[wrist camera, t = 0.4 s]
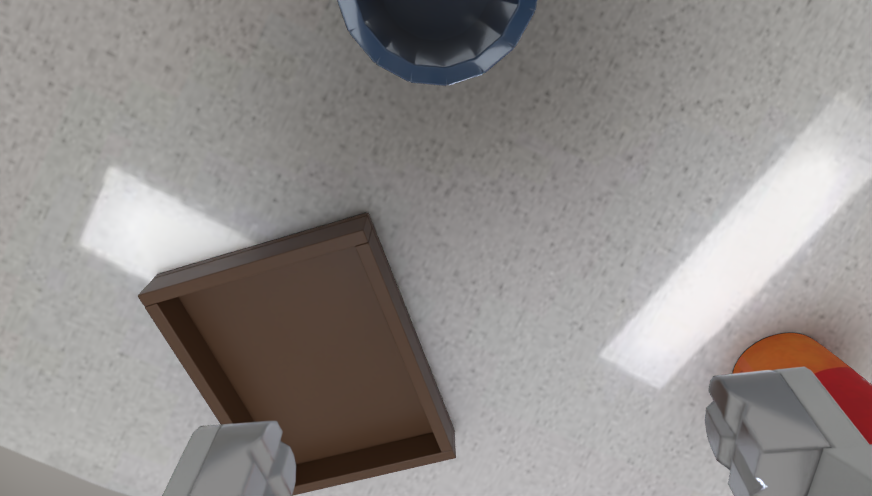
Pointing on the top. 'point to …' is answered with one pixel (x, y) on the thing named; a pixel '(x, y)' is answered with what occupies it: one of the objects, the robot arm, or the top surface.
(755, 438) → the robot arm
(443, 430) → the tray
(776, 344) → the coffee cup
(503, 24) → the tumbler
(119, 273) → the top surface
